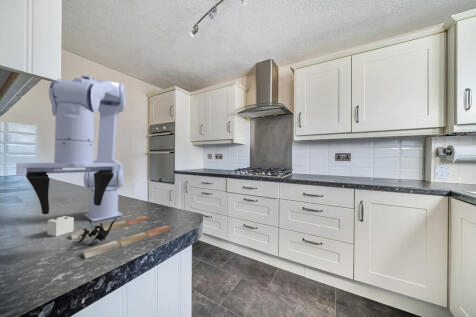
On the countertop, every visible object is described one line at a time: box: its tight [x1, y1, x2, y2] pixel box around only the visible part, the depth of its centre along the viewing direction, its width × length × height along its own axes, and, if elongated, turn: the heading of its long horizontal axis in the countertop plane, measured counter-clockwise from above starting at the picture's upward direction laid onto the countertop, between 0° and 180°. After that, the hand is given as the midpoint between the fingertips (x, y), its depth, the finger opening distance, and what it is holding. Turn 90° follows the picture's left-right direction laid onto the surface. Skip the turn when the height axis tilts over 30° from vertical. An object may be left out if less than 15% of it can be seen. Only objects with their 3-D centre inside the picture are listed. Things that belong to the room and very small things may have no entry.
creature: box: [70, 218, 118, 248], centre depth 40 cm, size 8×5×8 cm
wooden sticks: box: [69, 215, 172, 259], centre depth 45 cm, size 15×18×1 cm
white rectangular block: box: [46, 215, 75, 237], centre depth 44 cm, size 4×4×4 cm
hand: (73, 208), depth 35 cm, fingers open, 7 cm apart
